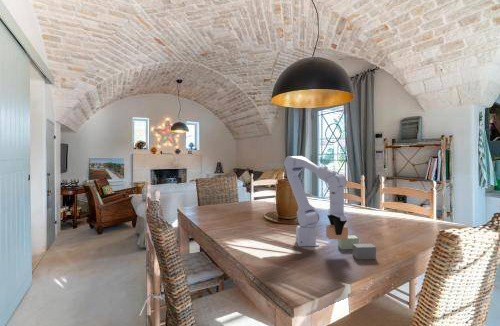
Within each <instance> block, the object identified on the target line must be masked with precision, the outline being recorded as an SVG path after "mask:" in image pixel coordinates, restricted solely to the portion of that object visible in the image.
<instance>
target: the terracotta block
mask: <svg viewBox="0 0 500 326" xmlns="http://www.w3.org/2000/svg"><path fill="white" fill-rule="evenodd" d="M325 227H326V228H325V229H326V230H325V232H326V233H325V237H327V238H328V239H329V240H338V239H348V235H349V227H348V226H346V224H345V225H344V227H343V230H342V234H341V235H336V232H335V225H331V224H326V225H325Z"/></svg>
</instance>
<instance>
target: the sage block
mask: <svg viewBox="0 0 500 326" xmlns="http://www.w3.org/2000/svg"><path fill="white" fill-rule="evenodd" d="M359 239H360V238H359V237H357V236H356V235H349V234H348V239H337V247H338V248H340V250H353V244H360V242H359Z"/></svg>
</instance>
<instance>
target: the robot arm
mask: <svg viewBox="0 0 500 326" xmlns="http://www.w3.org/2000/svg"><path fill="white" fill-rule="evenodd" d="M283 165H284V168H285V171H286V172H285V173H286V177H287V181H288V183H289V185H290V188H291V191H292V193H293V196H294V199H295V200H296V204H297V207H298V209H297V211H296V215H297V221H298V224H299V225H296V227H295V242H296V244H297V245H298V247H319V246H320V245H319V243H318V242H317V225H318V223H319V221H320V215H319V213H318V211H316V208H315V206H313V205H311V204H310V202H309V200H308V197H307V194H306V192H305V190H304V187H303V184H302V181H301V180H300V177H299V174H300V173H301V172H302V170H303V169H304V168H305V169H306V170H308V171H311V172H312V173H314V174H315V175H316V178H318V179H320V180H321V181H323V182H325V184H326V183H327V184H326V185H327V186H328V188H329V208H328V213H329V214H327V215H326V216H327V219H328V221H329V223H330V224H329V225H335V232H336V235H341V234H342V230H343V227H344V225H345V226H346V223H347V216H346V215H347V212H346V211H344V209H345V206H344V205H345V196H344V195H345V187H346V185H347V182H348V180H347V177H346V176H345V175H344V174H342V173H337V172H336V171H335V170H333V171H332V170H331V169H329V167H328V166H326V165H325V166H322V165H321V166H319V165H317V164H315V163H314V162H312V161H311V160H309V159H308V158H307V157H304V155H292V156H291V155H288V156H286V157H285V159H284V162H283Z"/></svg>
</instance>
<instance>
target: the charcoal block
mask: <svg viewBox="0 0 500 326" xmlns="http://www.w3.org/2000/svg"><path fill="white" fill-rule="evenodd" d="M352 256H353V257H354V259H356V260H376V259H377V247H376V246H375V245H374V244H373V243H359V244H353V249H352Z"/></svg>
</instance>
